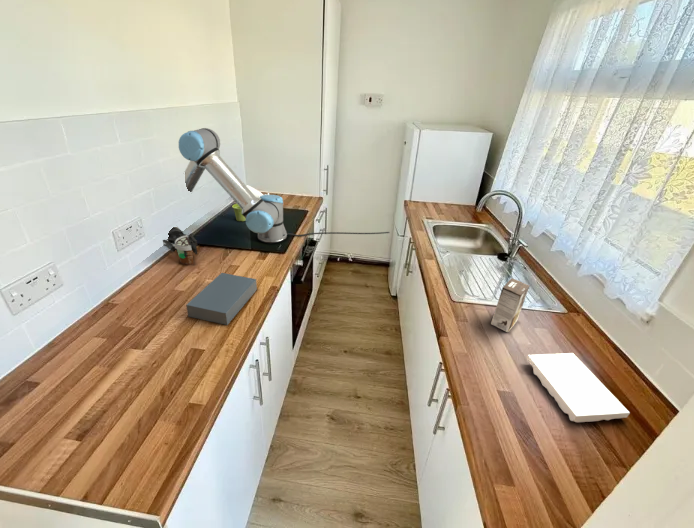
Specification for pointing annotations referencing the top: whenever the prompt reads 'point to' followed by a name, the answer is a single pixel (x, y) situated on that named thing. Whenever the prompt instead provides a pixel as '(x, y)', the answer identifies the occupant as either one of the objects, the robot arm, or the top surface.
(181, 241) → the food container
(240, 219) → the plant pot
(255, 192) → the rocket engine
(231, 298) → the grey rectangular block
